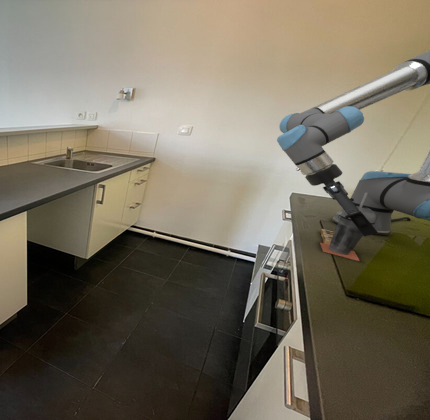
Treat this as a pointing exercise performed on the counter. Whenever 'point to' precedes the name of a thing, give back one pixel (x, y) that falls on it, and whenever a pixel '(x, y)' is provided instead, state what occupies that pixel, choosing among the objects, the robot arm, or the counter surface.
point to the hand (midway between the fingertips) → (365, 227)
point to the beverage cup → (349, 231)
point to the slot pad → (326, 249)
